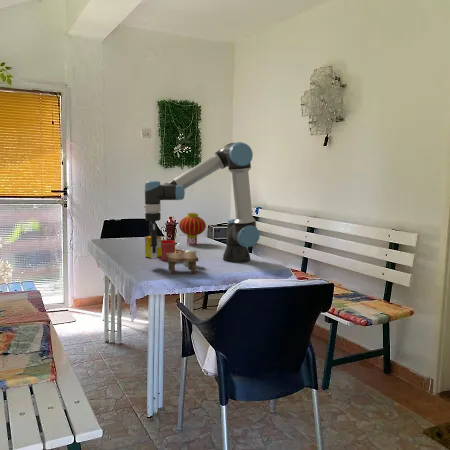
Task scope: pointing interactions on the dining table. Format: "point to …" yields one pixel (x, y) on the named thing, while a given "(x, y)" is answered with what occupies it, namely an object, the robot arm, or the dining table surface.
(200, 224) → the lantern
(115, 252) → the dining table surface
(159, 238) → the supplement box
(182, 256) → the footstool
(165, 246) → the flower pot
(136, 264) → the dining table surface
